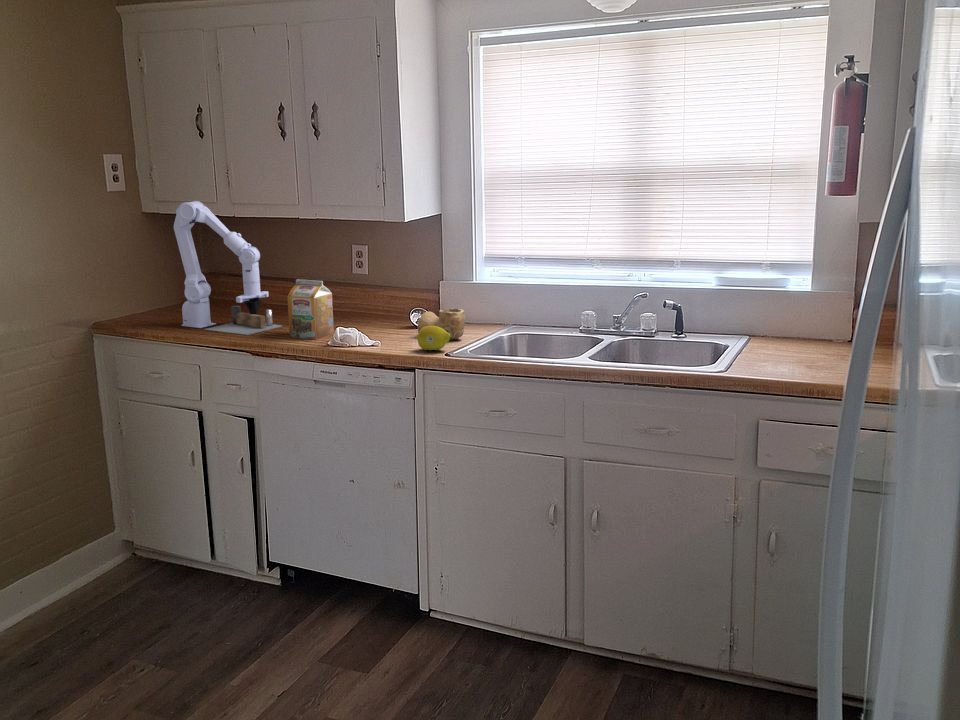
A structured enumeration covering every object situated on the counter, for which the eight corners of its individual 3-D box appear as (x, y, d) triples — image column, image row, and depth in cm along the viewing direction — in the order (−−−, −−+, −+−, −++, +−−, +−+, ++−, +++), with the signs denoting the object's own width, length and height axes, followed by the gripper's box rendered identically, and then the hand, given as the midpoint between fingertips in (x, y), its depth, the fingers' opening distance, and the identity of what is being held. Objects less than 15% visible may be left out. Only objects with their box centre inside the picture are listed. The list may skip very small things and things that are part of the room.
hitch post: (265, 326, 313) (264, 310, 311) (269, 325, 314) (268, 309, 313) (270, 327, 312) (269, 310, 310) (273, 326, 313) (272, 309, 312)
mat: (204, 329, 307) (204, 329, 307) (240, 321, 322) (240, 320, 322) (246, 335, 298) (246, 334, 298) (282, 326, 313) (282, 325, 313)
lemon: (411, 352, 272) (411, 326, 270) (423, 347, 279) (422, 322, 277) (443, 355, 267) (442, 329, 265) (454, 349, 274) (453, 324, 272)
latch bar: (230, 323, 316) (229, 306, 315) (237, 321, 319) (236, 305, 317) (259, 328, 306) (258, 311, 305) (267, 326, 309) (266, 310, 307)
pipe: (432, 333, 300) (431, 304, 298) (471, 338, 291) (470, 309, 289) (415, 338, 293) (415, 308, 290) (455, 343, 284) (455, 313, 281)
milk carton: (333, 334, 299) (331, 279, 295) (316, 339, 290) (313, 283, 286) (308, 331, 304) (305, 277, 299) (289, 337, 294) (286, 281, 290)
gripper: (245, 285, 301) (248, 323, 305) (274, 279, 314) (276, 317, 317) (230, 284, 305) (233, 322, 308) (259, 278, 317) (261, 315, 320)
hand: (254, 319), depth 313 cm, fingers closed, pressing on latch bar
